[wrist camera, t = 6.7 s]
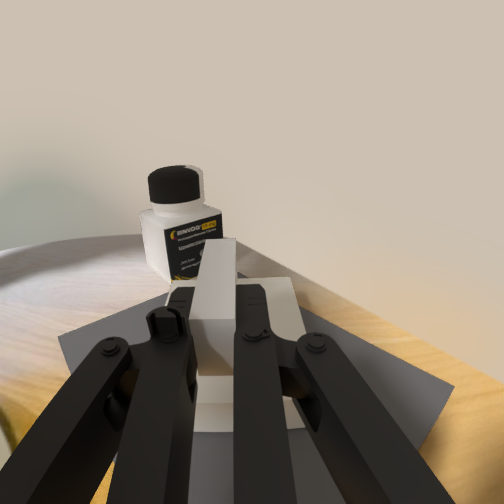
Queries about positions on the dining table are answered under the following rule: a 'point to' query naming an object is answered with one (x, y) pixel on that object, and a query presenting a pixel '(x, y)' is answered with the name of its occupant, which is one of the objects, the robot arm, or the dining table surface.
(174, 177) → the medicine bottle
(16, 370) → the dining table surface
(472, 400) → the dining table surface
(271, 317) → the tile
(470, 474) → the dining table surface
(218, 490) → the mat
